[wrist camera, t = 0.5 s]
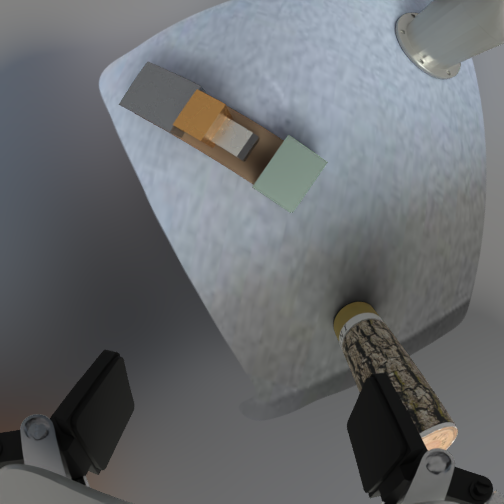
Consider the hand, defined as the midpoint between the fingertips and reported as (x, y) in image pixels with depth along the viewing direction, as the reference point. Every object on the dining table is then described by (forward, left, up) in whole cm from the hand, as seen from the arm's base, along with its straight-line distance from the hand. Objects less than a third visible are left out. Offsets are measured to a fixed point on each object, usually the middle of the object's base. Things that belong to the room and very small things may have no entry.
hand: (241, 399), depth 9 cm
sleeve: (-9, -19, -27) cm, 34 cm away
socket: (-9, -1, -27) cm, 28 cm away
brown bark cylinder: (+2, +19, -28) cm, 34 cm away
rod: (-9, -14, -26) cm, 31 cm away
